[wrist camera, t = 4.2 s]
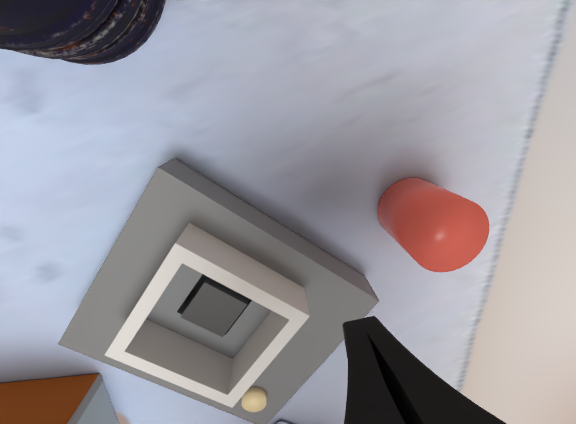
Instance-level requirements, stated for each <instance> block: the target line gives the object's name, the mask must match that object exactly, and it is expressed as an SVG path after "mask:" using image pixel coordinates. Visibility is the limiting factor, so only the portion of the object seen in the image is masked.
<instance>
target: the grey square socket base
mask: <svg viewBox="0 0 576 424" xmlns="http://www.w3.org/2000/svg"><path fill="white" fill-rule="evenodd" d="M202 274H204V275H206V276H207V277H209V278H211V279H213V280H215V281H217V282H219V283H221V284H223V285H224V286H226V287H228V288H230V289H232V290H234V291H236V292H238V293H240V294H242V295H243V296H245V297H247V298H248V303H247V306H246V307H245V308H244V310H243V311H242V312H241V314H240V315H239V316H238V318H237V319H236V320H235V321H234V323H233V324H232V325H231V327H230V328H229V329H228V331H227V332H226V333H225V335H224V336H223V337H221V336H219V335H216V334H214V333H212V332H210V331H208V330H206V329H204V328H202V327H200V326H198V325H195V324H193V323H191V322H189V321H187V320H185V319H183V318H181V315H182V312H183V310H184V308H185V305H186V303H187V300H188V298H189V296H190V293H191V291H192V289H193V287H194V286H195V284H196V283H197V282H198V280H199V279H200V277H201V276H202ZM378 302H379V299H378V298H377V296H376V294H375V293H374V291H373V289H372V287H371V286H370V284H369V282H368V281H367V279H366V277H365V276H364V275H362V274H360V273H359V272H357V271H355V270H354V269H352V268H351V267H349V266H347V265H346V264H344V263H343V262H341V261H339V260H338V259H336V258H335V257H333V256H331V255H330V254H328V253H327V252H325V251H323V250H322V249H320V248H319V247H317V246H315V245H314V244H312V243H310V242H309V241H307V240H306V239H304V238H302V237H301V236H299V235H298V234H296V233H294V232H293V231H291V230H290V229H288V228H286V227H285V226H283V225H282V224H280V223H278V222H277V221H275V220H273V219H272V218H270V217H269V216H267V215H265V214H264V213H262V212H261V211H259V210H257V209H256V208H254V207H253V206H251V205H249V204H248V203H246V202H245V201H243V200H241V199H240V198H238V197H237V196H235V195H233V194H232V193H230V192H228V191H227V190H225V189H224V188H222V187H220V186H219V185H217V184H216V183H214V182H212V181H211V180H209V179H208V178H206V177H204V176H203V175H201V174H200V173H198V172H196V171H195V170H193V169H192V168H190V167H188V166H187V165H185V164H183V163H182V162H180V161H179V160H177V159H173V160H171V161H169V162H167V163H165V164H163V165H161V166H159V167H158V168H157V170H156V171H155V173H154V175H153V177H152V178H151V180H150V182H149V184H148V186H147V187H146V189H145V191H144V193H143V194H142V196H141V198H140V200H139V201H138V203H137V205H136V207H135V209H134V210H133V212H132V214H131V216H130V217H129V219H128V221H127V223H126V224H125V226H124V228H123V230H122V232H121V233H120V235H119V237H118V239H117V240H116V242H115V244H114V246H113V247H112V249H111V251H110V253H109V255H108V256H107V258H106V260H105V262H104V263H103V265H102V267H101V269H100V270H99V272H98V274H97V276H96V278H95V279H94V281H93V283H92V285H91V286H90V288H89V290H88V292H87V293H86V295H85V297H84V299H83V301H82V302H81V304H80V306H79V308H78V309H77V311H76V313H75V315H74V316H73V318H72V320H71V322H70V324H69V325H68V327H67V329H66V331H65V332H64V334H63V336H62V338H61V339H60V341H59V343H58V344H59V345H62V346H64V347H67V348H69V349H72V350H74V351H77V352H79V353H82V354H84V355H86V356H89V357H91V358H94V359H96V360H99V361H101V362H104V363H106V364H109V365H111V366H114V367H116V368H119V369H121V370H124V371H126V372H129V373H131V374H133V375H136V376H138V377H141V378H143V379H146V380H148V381H151V382H153V383H156V384H158V385H161V386H163V387H166V388H168V389H171V390H173V391H176V392H178V393H180V394H183V395H185V396H188V397H190V398H193V399H195V400H198V401H200V402H203V403H205V404H208V405H210V406H213V407H215V408H218V409H220V410H223V411H225V412H227V413H230V414H232V415H235V416H237V417H240V418H242V419H245V420H247V421H250V422H252V423H255V424H267V423H268V422H269V421H270V420H271V419H272V418H273V417H274V416H275V415H276V414H277V412H278V411H279V410H280V409H281V408H282V407H283V406H284V405H285V404H286V403H287V401H288V400H289V399H290V398H291V397H292V396H293V395H294V394H295V393H296V392H297V391H298V389H299V388H300V387H301V386H302V385H303V384H304V383H305V382H306V381H307V380H308V378H309V377H310V376H311V375H312V374H313V373H314V372H315V371H316V370H317V369H318V368H319V366H320V365H321V364H322V363H323V362H324V361H325V360H326V359H327V358H328V357H329V355H330V354H331V353H332V352H333V351H334V350H335V349H336V348H337V347H338V346H339V344H340V343H341V342H342V341H343V340H344V332H343V326H342V324H343V323H344V322H347V321H352V320H357V319H362V318H364V317H365V316H366V315H367V314H368V313H369V312H370V311H371V309H372V308H373V307H374V306H375V305H376V304H377V303H378Z"/></svg>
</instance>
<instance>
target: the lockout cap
mask: <svg viewBox="0 0 576 424" xmlns="http://www.w3.org/2000/svg"><path fill="white" fill-rule="evenodd" d="M378 219H379V222H380V224H381V225H382V227H383V228H384V229H385V230H386V231H387V232H388V233H389V234H390V235H391V236H392V237H393V238H394V239H395V240H396V241H397V242H398V243H399V244H400V245H401V246H402V247H403V248H404V249H405V250H406V251H407V252H408V253H409V254H410V255H411V256H412V258H413V259H414V260H415V261H416V262H417V263H418V264H419V265H421V266H422V267H424V268H425V269H428V270H430V271H434V272H448V271H453V270H456V269H459V268H461V267H463V266H465V265H466V264H468V263H469V262H471V261H472V260H473V259H474V258H475V257H476V256H477V255H478V254H479V253H480V251H481V250H482V249H483V247H484V245H485V243H486V241H487V238H488V234H489V221H488V217H487V215H486V213H485V211H484V210H483V209H482V208H481V207H480V206H479V205H478V204H476V203H475V202H472V201H470V200H468V199H466V198H463V197H461V196H459V195H457V194H454V193H452V192H450V191H448V190H445V189H443V188H441V187H439V186H437V185H434V184H432V183H430V182H428V181H425V180H423V179H420V178H406V179H402V180H399V181H397V182H395V183H394V184H392V185H391V186H390V187H389V188H388V189H387V190H386V191H385V192H384V194H383V195H382V197H381V199H380V201H379V204H378Z"/></svg>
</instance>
